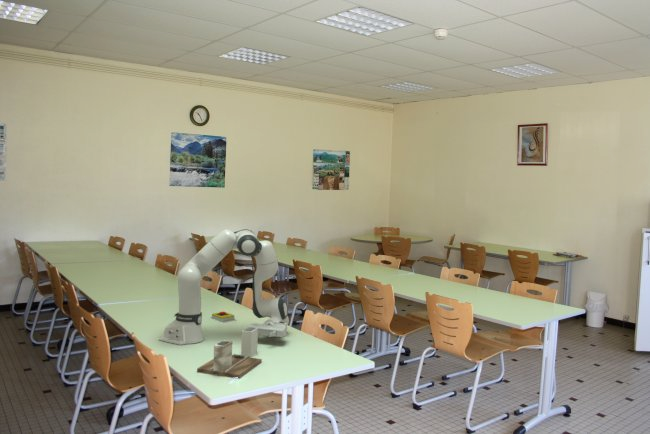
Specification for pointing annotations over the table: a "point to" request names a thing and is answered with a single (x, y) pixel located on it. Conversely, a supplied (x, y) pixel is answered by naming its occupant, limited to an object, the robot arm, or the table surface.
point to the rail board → (235, 370)
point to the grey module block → (249, 342)
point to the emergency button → (223, 317)
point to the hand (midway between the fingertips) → (260, 334)
